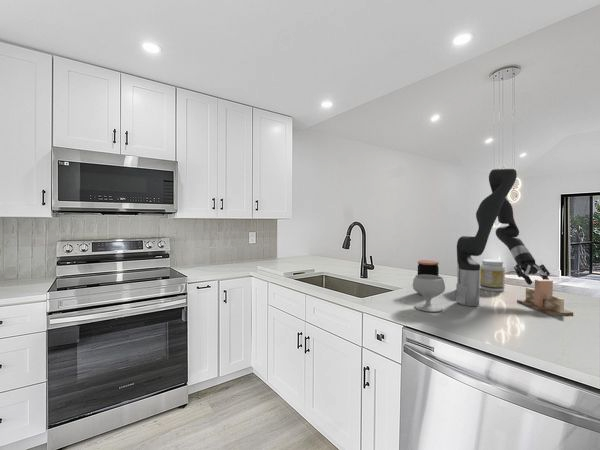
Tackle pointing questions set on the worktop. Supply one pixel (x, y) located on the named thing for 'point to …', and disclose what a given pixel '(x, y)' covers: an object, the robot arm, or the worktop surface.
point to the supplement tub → (492, 275)
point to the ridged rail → (546, 304)
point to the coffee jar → (428, 267)
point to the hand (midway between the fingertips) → (539, 283)
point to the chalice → (428, 290)
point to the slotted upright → (542, 291)
